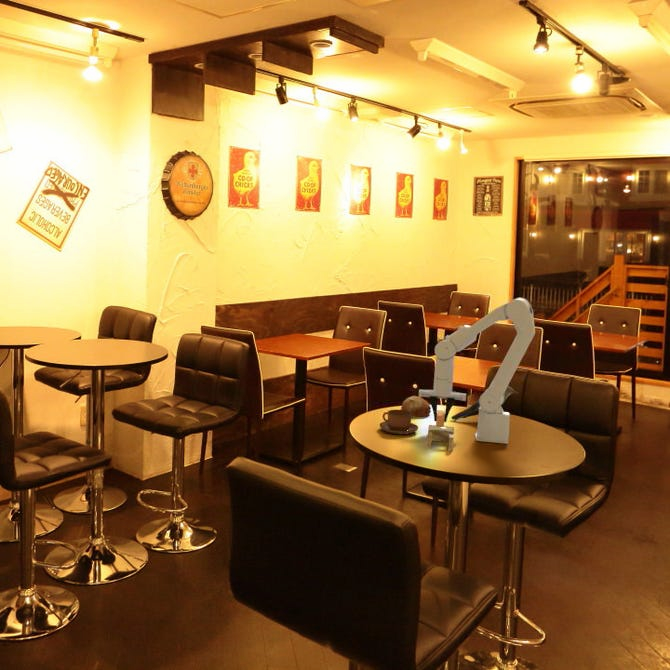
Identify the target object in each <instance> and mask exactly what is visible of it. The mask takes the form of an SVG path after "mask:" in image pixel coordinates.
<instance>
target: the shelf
mask: <svg viewBox="0 0 670 670" xmlns="http://www.w3.org/2000/svg"><path fill="white" fill-rule="evenodd" d="M427 427H428V430H427V439H426V450H431V449H432V443H433V441H436V442H437V441H438V442H445V443H447V442H448V449H447V450H448V452H453V448H454V435H455V427H454V426H445V425H444V426H436V424H433V425H432V424H429V425H428V426H427Z"/></svg>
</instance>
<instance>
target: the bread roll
mask: <svg viewBox="0 0 670 670" xmlns="http://www.w3.org/2000/svg"><path fill="white" fill-rule="evenodd" d="M431 409H432V406H431V404H430V403H429V402H428V401H427V400H426V399H424V398H423V397H419V396H417V395H412V396H409V397H406V399H405V400H404V401H403V402H402V405H401V407H400V410H405V411H409V412H411V413H412V415H411V416H412V417H411V418H427V417H428V416H430V413H431V412H432V410H431ZM426 416H427V417H426Z"/></svg>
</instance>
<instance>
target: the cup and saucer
mask: <svg viewBox="0 0 670 670" xmlns="http://www.w3.org/2000/svg"><path fill="white" fill-rule="evenodd" d="M386 415H387V419H386ZM411 415H412V413H411V412H409V411H405V410H401V409H390V410H388V411H385V412H384V413H383V414H382V420H383V421H382V422H380V423H379V428H380V429H381V430H383V431H384V432H387V433H389V434H394V435H409V434H414V433H416V432H417V431H418V430H419V426H418V425H417V424H415V423H413V422H412V417H411ZM407 430H408V431H407Z"/></svg>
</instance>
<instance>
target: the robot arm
mask: <svg viewBox="0 0 670 670" xmlns="http://www.w3.org/2000/svg"><path fill="white" fill-rule="evenodd" d="M507 320H510V321H511V322H512V324H513V327H514V328H515V330H516V335H515V337H514V340H513V342H512V343H511V345H510V347H509V348H508V351H507V352H506V355H505V357H504V359H503V360H502V362H501V364H500V366H499V368H498V370H497V372H496V374H495V376H494V377H493V379H492V381H491V383H490V384H489V387H488V388H486V390H485V391H484V392H483V393H482V394H481V395H480V397H479V398H478V401H479V404H480V406H481V407H479V416H478V415H477V417H478V419H477V428H476V429H477V430H476V432H475V435H474V436H475V437H474V438H475V441H477V442H486V443H498V444H506V445H507V444H509V436H510V416H511V415H510V412H509V411H504V409H503V407H502V405H503V404H504V403H503V401H504V393H505V390H506V389H507V386H509V383H510V382H511V380H512V378H513V376H514V374H515V372H516V371H517V369H518V367H519V365H520V363H521V361H522V359H523V357H524V356H525V354H526V351H527V350H528V349H529V345H530V344H531V342H532V340H533V338H534V337H535V334H536V326H535V319H534V309H533V308H532V305H531V303H530V302H529V301H528V300H527V299H526V298H524V297H516V298H514V299H512V300H510V301H509V302H506V303H504V304H503V305H500V306H498V307H496V308H495V309H492V310H491V311H490V312H489V313H487V314H486V315H484V316H483V317H482V318H480V319H479V320H478V321H476V322H475V323H474V324H472V325H469V324H468V325H467V324H465V325H463V326H462V325H460V326H458V327H457V330H456V331H454V332H453V333H451V334H449V335H448V334H447V335H446V336H444V339H443V340H439V342H438V343H437V344H436V345H435V347H434V354H435V356H436V357H435V365H434V367H435V368H434V374H433V375H434V377H433V378H434V379H433V389H419V390H418V397H420V398H429V405H430V407H431V409H432V412H433V420H434V422H436V419H437V410H438V400H439V399H444V400H445V410H444V411H445V418H444V423H447V420H448V416H449V414H450V411H451V409H452V408H453V406H454V404H455V401H457V400H458V401H462V402H463V401H464V402H466V401H467V393H462V392H458V391H457V392H456V391H453V382H454V381H453V380H454V371H455V370H454V368H455V364H454V363H455V355H456V353H457V352H458V353H459V352H461V351H462V350H464V349H465V348H467V347H468V346H470V345H471V344H473V343H474V342H476V341H477V336H478V334H479V333H482V332H483V331H484V330H486V329H487V328H489V327H490V326H492V325H494V324H495V323H497V322H500V321H502V322H503V321H507ZM504 402H505V401H504ZM502 403H503V404H502ZM501 404H502V405H501ZM500 405H501V406H500Z"/></svg>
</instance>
